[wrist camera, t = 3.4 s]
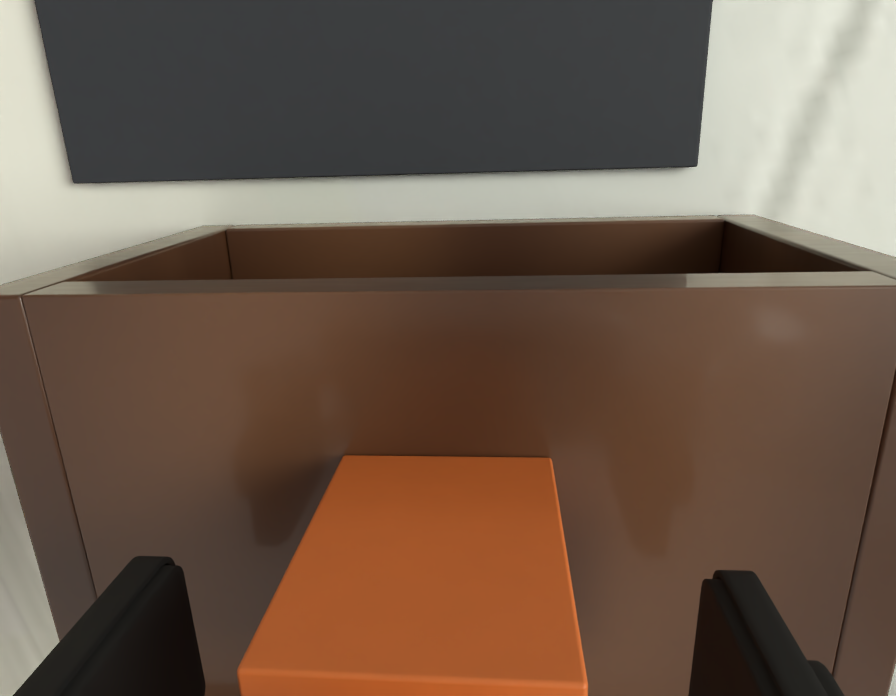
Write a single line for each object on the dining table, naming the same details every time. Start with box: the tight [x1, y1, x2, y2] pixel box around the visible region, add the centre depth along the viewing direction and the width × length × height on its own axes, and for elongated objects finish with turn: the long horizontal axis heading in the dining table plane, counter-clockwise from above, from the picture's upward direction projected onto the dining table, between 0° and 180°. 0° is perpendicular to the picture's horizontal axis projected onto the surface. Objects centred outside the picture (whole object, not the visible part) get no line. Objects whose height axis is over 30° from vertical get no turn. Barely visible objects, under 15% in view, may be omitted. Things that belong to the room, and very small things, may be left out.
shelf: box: [0, 215, 896, 696], centre depth 17 cm, size 18×12×12 cm, turn 92°
